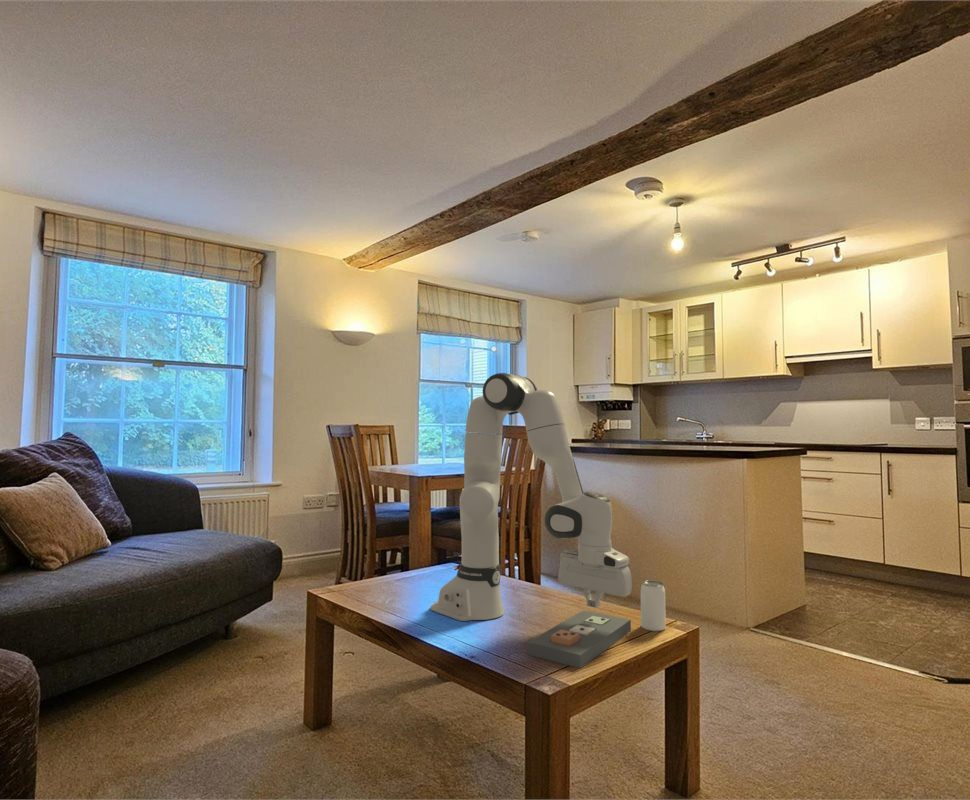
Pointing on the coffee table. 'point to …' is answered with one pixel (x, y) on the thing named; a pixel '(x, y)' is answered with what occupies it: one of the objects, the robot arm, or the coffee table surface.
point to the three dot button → (565, 638)
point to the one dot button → (582, 630)
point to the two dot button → (597, 620)
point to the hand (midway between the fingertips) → (593, 606)
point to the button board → (580, 640)
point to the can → (653, 606)
